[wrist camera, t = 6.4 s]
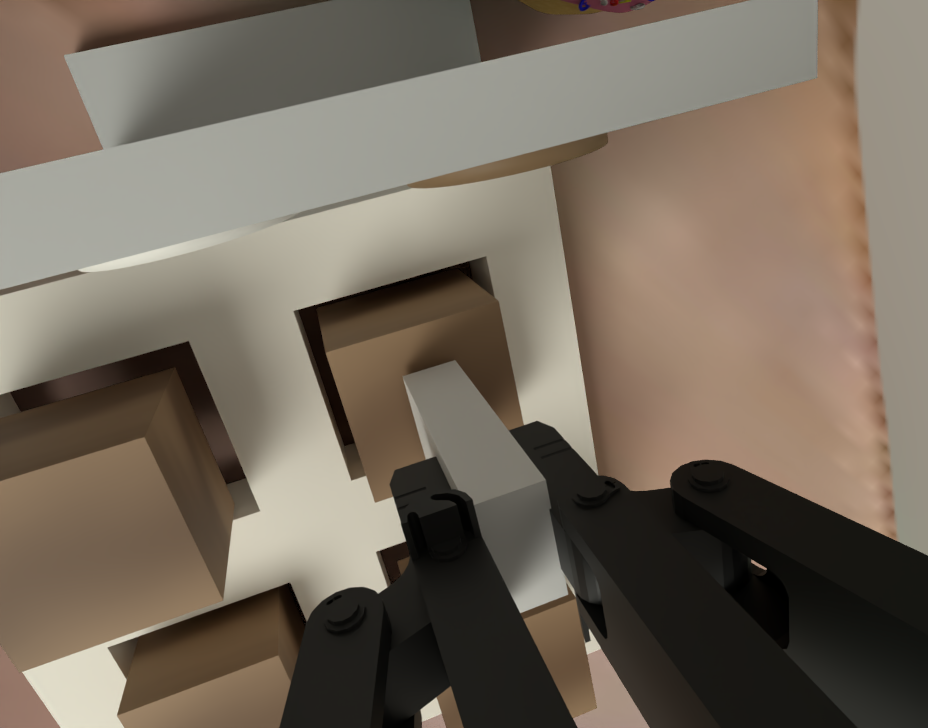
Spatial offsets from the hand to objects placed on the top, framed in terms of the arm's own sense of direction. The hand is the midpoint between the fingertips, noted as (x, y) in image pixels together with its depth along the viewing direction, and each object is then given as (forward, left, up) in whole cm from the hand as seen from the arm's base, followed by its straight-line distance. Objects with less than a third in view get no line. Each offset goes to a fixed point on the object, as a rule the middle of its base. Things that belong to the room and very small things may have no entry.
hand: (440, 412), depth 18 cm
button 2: (0, -9, -3) cm, 10 cm away
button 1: (+9, -9, -5) cm, 14 cm away
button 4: (0, 0, -5) cm, 5 cm away
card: (-9, -1, -5) cm, 10 cm away
